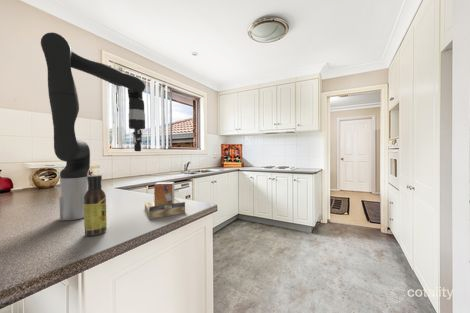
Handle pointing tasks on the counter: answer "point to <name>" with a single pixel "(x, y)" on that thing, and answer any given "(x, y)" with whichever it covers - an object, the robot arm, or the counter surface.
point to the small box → (163, 193)
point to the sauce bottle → (94, 207)
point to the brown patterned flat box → (164, 209)
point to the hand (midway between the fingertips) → (137, 151)
